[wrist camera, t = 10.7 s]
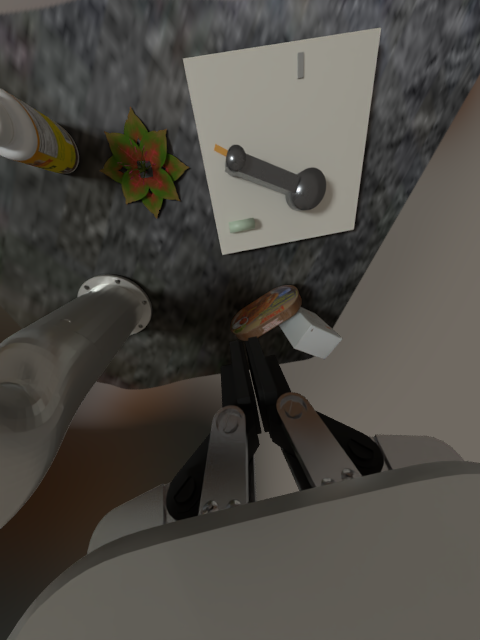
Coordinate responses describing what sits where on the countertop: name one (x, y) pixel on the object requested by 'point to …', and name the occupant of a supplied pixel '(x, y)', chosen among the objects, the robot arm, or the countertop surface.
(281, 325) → the small box
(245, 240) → the base
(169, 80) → the countertop surface
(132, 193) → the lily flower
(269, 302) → the tin
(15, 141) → the supplement bottle
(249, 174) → the grey knobbed bar
